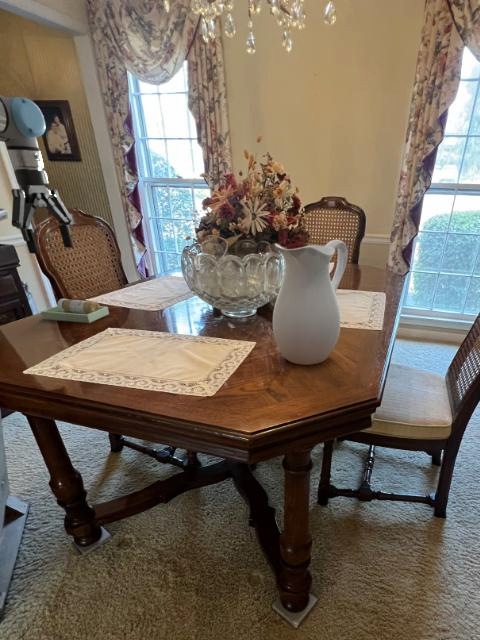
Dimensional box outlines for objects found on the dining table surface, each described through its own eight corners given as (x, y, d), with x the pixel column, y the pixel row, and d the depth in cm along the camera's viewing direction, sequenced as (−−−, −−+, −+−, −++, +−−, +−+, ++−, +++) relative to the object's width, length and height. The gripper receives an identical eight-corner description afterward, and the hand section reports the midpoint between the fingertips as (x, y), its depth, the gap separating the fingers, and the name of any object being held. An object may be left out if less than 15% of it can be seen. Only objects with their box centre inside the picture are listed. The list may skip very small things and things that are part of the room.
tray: (42, 319, 125) (40, 311, 124) (65, 310, 134) (63, 303, 132) (89, 322, 122) (87, 315, 121) (109, 313, 130) (107, 306, 129)
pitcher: (308, 376, 89) (311, 250, 75) (260, 357, 98) (254, 242, 85) (366, 348, 104) (376, 239, 90) (319, 334, 114) (322, 233, 100)
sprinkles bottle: (102, 305, 129) (69, 302, 132) (93, 299, 125) (59, 295, 128) (98, 318, 128) (65, 314, 131) (89, 311, 124) (55, 308, 127)
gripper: (0, 166, 94) (29, 256, 105) (73, 171, 116) (91, 245, 126) (-24, 166, 96) (6, 255, 106) (52, 171, 117) (71, 244, 127)
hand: (52, 250), depth 116 cm, fingers open, 13 cm apart
